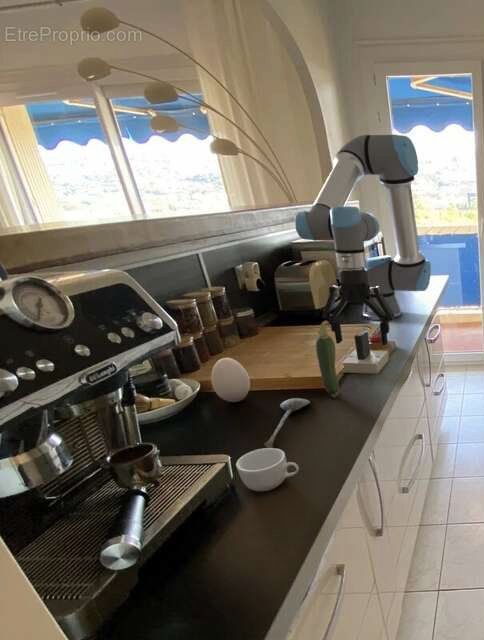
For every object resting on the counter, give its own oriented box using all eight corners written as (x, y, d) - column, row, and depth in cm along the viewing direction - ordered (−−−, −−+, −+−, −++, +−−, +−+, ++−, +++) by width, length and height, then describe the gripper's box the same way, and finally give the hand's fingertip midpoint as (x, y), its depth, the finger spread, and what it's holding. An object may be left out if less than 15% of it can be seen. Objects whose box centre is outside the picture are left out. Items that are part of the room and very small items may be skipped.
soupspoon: (315, 403, 112) (288, 406, 112) (312, 391, 111) (284, 393, 110) (285, 447, 92) (252, 450, 92) (281, 433, 91) (247, 436, 90)
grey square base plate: (354, 358, 139) (352, 349, 138) (388, 360, 138) (387, 350, 137) (340, 372, 129) (338, 362, 128) (377, 373, 128) (376, 363, 127)
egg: (247, 391, 117) (236, 350, 112) (259, 400, 112) (248, 358, 107) (213, 401, 112) (200, 358, 107) (224, 411, 107) (211, 367, 102)
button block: (369, 346, 149) (368, 335, 147) (396, 347, 149) (394, 336, 147) (359, 357, 140) (357, 345, 138) (387, 358, 140) (385, 346, 138)
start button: (372, 339, 145) (371, 333, 144) (384, 339, 145) (384, 333, 144) (368, 343, 141) (367, 337, 140) (381, 343, 141) (380, 337, 140)
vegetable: (321, 398, 113) (307, 322, 105) (331, 391, 117) (318, 317, 108) (336, 400, 113) (323, 323, 104) (346, 393, 116) (334, 318, 108)
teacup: (235, 498, 78) (227, 472, 75) (254, 472, 85) (247, 448, 82) (294, 496, 78) (288, 470, 76) (308, 470, 85) (303, 446, 83)
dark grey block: (364, 353, 135) (361, 330, 132) (370, 353, 135) (367, 330, 132) (357, 359, 130) (354, 335, 127) (364, 359, 130) (361, 335, 127)
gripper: (301, 269, 118) (315, 345, 128) (393, 271, 117) (400, 348, 126) (313, 265, 125) (326, 337, 134) (401, 267, 124) (407, 340, 133)
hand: (362, 343), depth 130 cm, fingers open, 13 cm apart
